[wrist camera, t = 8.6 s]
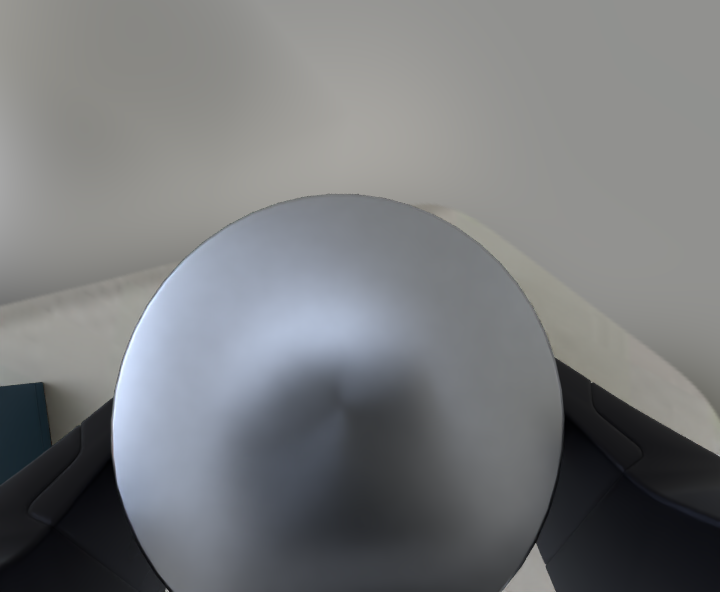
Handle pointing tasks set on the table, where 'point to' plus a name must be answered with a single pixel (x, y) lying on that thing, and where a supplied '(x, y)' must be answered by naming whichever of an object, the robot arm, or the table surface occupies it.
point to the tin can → (337, 408)
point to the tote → (22, 427)
